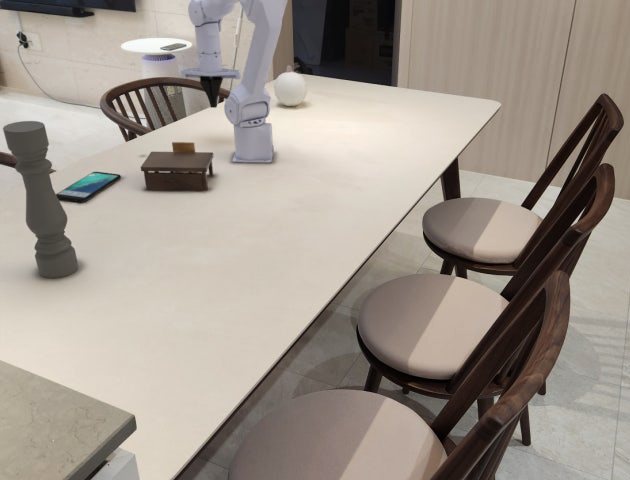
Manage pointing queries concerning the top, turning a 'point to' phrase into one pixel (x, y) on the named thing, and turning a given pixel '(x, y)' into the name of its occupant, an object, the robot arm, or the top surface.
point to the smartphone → (88, 186)
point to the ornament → (290, 88)
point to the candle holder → (41, 199)
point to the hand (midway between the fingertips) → (214, 106)
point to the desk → (177, 164)
